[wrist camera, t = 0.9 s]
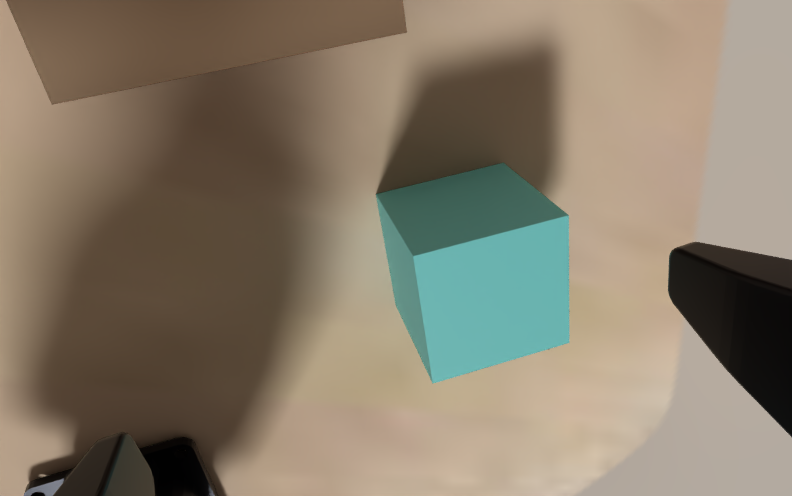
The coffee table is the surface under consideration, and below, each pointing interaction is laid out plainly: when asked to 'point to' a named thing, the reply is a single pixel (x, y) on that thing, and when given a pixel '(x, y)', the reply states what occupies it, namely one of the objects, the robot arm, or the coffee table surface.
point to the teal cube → (477, 268)
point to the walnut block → (183, 37)
